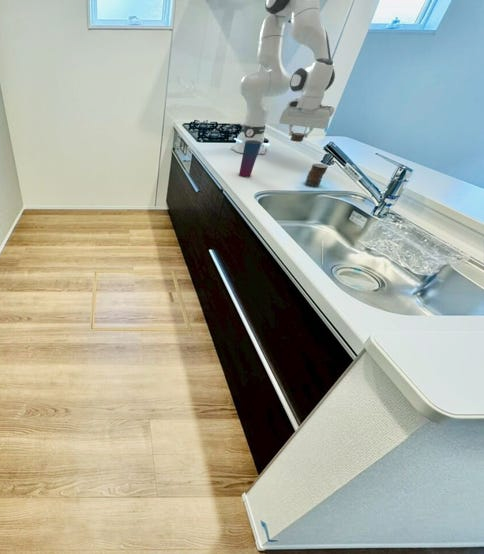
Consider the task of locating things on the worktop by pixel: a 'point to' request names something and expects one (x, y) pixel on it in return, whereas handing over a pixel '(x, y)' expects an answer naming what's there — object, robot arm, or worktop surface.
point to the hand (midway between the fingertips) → (297, 136)
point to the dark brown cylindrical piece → (315, 175)
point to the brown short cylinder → (297, 137)
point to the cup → (249, 157)
